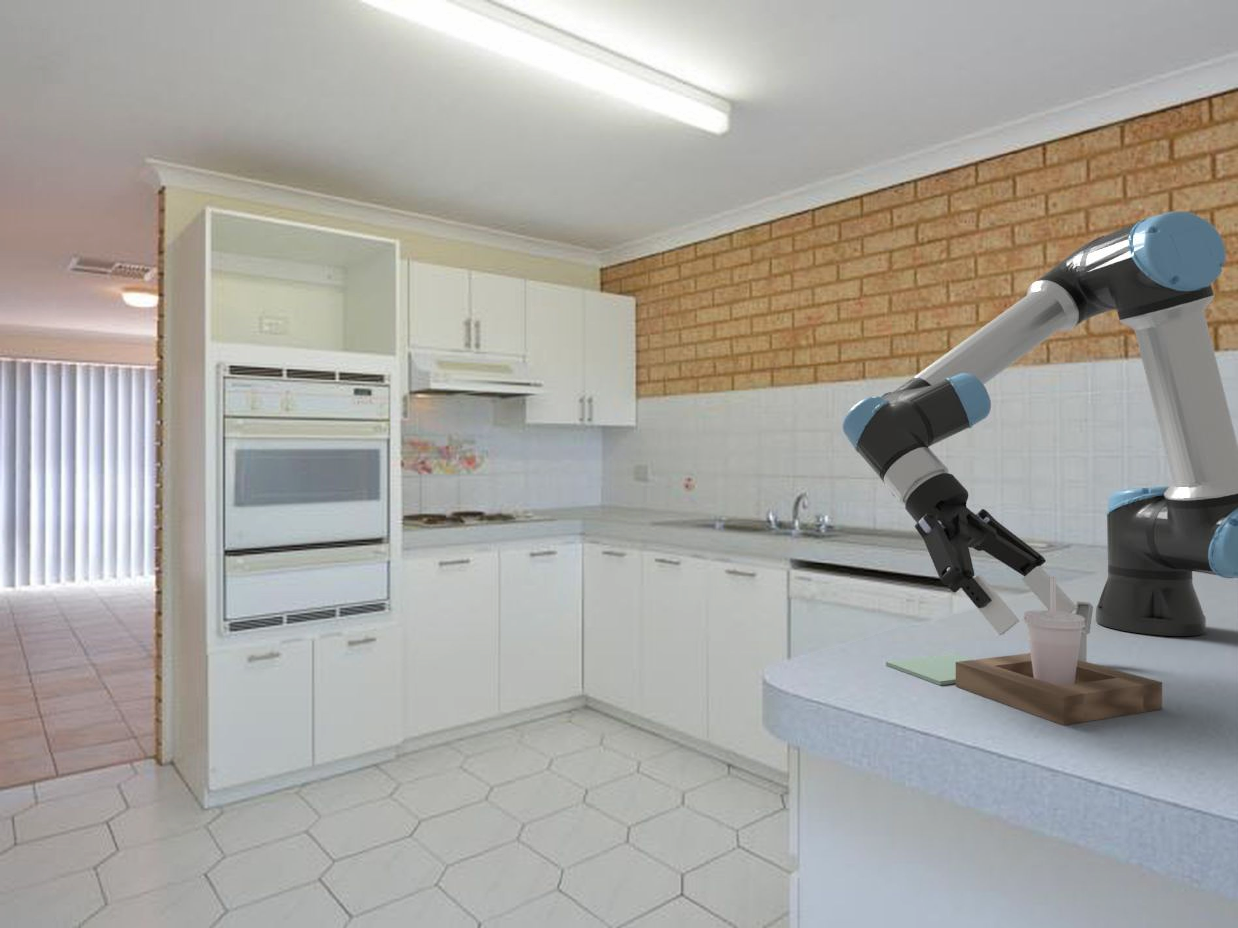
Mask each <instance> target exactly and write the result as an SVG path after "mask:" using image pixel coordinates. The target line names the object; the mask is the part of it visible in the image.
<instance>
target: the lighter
mask: <svg viewBox="0 0 1238 928" xmlns="http://www.w3.org/2000/svg"><path fill="white" fill-rule="evenodd" d="M1075 605H1076V606H1077V607H1078V608H1076V609H1075V610H1074V611H1075V613H1074V614H1077V615H1081V616H1083V617H1084V618H1085V627H1084V628H1082V632H1081V641H1080V647H1079V654H1078V660H1081V661H1084V662H1087V636H1088V635H1089V634H1090V633H1091V627H1092V626H1091V624H1092V619H1093V612H1094V611H1093V610H1094V606H1093V605H1092V603H1090V602H1089V601H1088V602H1087V601H1077V602H1076V604H1075Z"/></svg>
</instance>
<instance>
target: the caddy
mask: <svg viewBox="0 0 1238 928" xmlns="http://www.w3.org/2000/svg"><path fill="white" fill-rule="evenodd" d="M955 687H956V688H959V689H963V690H965V691H968V692H970V693H972V694H976V695H978V696H981V697H984V698H987V699H990V700H993V701H995V702H997V703H998V702H999V703H1001V704H1004V705H1006V706H1009V707H1011V708H1015V709H1018V710H1020V711H1023V712H1026V713H1028V714H1031V715H1034V716H1037V717H1039V718H1043V719H1045V720H1048V721H1050V722H1053V723H1056V724H1058V725H1062V726H1067V725H1068V726H1069V725H1074V724H1079V723H1086V722H1091V721H1097V720H1098V721H1100V720H1104V719H1109V718H1116V717H1121V716H1126V715H1128V716H1129V715H1135V714H1140V713H1144V712H1151V711H1152V712H1153V711H1157V710H1162V709H1163V682H1162V681H1159V680H1157V679H1156V680H1155V679H1152V678H1147V677H1144V676H1139V675H1136V674H1133V673H1128V672H1125V671H1121V670H1118V669H1114V668H1110V667H1107V666H1102V665H1099V664H1095V663H1091V662H1088V661H1086V662H1084V661H1081V660H1078V661H1077V668H1076V675H1075V682H1074V684H1071V685H1064V686H1057V685H1054V684H1051V683H1048V682H1045V681H1041V680H1038V679H1035V678H1034V676H1033V668H1032V661H1031V653H1030V652H1029V653H1022V654H1020V653H1019V654H1011V655H1003V656H997V657H996V656H995V657H988V658H979V659H974V660H969V661H960V662H956V683H955Z"/></svg>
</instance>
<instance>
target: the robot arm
mask: <svg viewBox="0 0 1238 928" xmlns="http://www.w3.org/2000/svg"><path fill="white" fill-rule="evenodd" d="M1226 258H1227V256H1226V246H1225V244H1224V240H1223V238H1222V235H1221V234H1220V232H1219V231H1218V230H1217V228H1216V227H1215V226H1214V225H1213V224H1212V223H1211V222H1209V221H1208V220H1207V219H1205V218H1203V217H1202V218H1201V217H1199V216H1198V215H1197V214H1196V213H1193V212H1190V211H1185V210H1184V211H1182V210H1176V211H1169V212H1165V213H1161V214H1159V215H1157V214H1156V215H1153V216H1149V217H1146V218H1144V219H1142V220H1139V221H1137V222H1135V223H1133V224H1130V225H1128V226H1125V227H1123V228H1121V229H1118V230H1116V231H1113V232H1111V233H1108V234H1106V235H1102V236H1100V237H1097V238H1095V239H1092V240H1091V241H1089V242H1087V243H1085V244H1084V245H1083V246H1081V247H1079V248H1078V249H1076V250H1075V251H1074V252H1072V253H1070V255H1068V256H1067V257H1066V258H1064V259H1063V260H1062V261H1061V262H1059V263H1058V264H1057V265H1056V266H1054V267H1053V268H1051V269H1050V270H1049V271H1048V272H1046V273H1045V274H1044V275H1042V276H1041V277H1040V278H1038V279H1037V280H1036V281H1034V282H1033V283H1032V284H1031V285H1030V286H1029V287H1028V289H1027V292H1026V295H1025V296H1024V297H1022V299H1020V300H1018V301H1017V302H1016V303H1014V304H1013V305H1011V306H1010V307H1008V308H1007V309H1006V310H1005V311H1004V312H1002V313H1000V314H999V315H998V316H996V317H995V318H993V319H992V320H991V321H989V322H988V323H986V324H985V325H984V326H983V327H981V328H980V329H978V330H977V331H975V332H974V333H973V334H971V335H970V336H969V337H967V338H965V340H963V341H961V342H960V343H959V344H958V345H956V346H954V348H952V349H951V350H949V351H948V352H946V353H945V354H944V355H942V356H941V357H939V358H938V359H936V360H935V361H933V363H931V364H930V365H929V366H927V367H926V368H924V369H922V371H920V372H918V373H917V374H916V375H915V376H913V377H912V378H911V379H909V380H908V381H906V382H905V383H903V384H902V385H900V386H899V387H897V388H896V389H895V390H893V391H892V392H891V391H889V392H886V393H883V394H881V395H878V396H873V397H872V396H867V397H866V398H863V399H862V400H860V401H858V402H857V403H856V404H854V405H853V406H852V407H851V408H850V409H849V410H848V412H847V413H846V415H845V416H844V419H843V422H842V431H843V433H844V435H845V436H846V438H847V439H848V441H849V443H850V444H851V445H852V447H853V448H854V450H855V451H856V453H858V454H860V456H861V457H862V458H863V459H864V461H865V462H866V463H867V464H868V465H869V466H870V468H872V470H873V471H874V472H875V473H876V474H877V476H878V478H880V479H881V481H882V482H883V483H884V484H885V485H886V486H887V488H888V489H889V490H890V492H891V495H892V497H893V498H896V499H897V500H898V502H900V504H902V505H904V506H905V507H904V508H905V510H906V512H908V514H909V515H910V517H912V519H913V520H914V521H915V523H916V524H915V525H914V528H915V529H916V531H917V532H918V534H919V535H920V536H921V538H922V539H923V542H924V544H925V546H926V548H927V551H928V554H929V557H930V558H931V561H932V563H933V566H934V567H935V570H936V572H937V575H938V577H939V580H940V582H941V583H942V584H943V585H944V586H948V588H949V589H950V591H951V592H953V593H957V592H958V591H959V590H960V589H961V590H962V591H963V592H964V593H965V595H966V596H967V598H969V600H970V601H971V602H972V603H973V604H974V606H975V607H976V608H977V609H978V611H979V612H980V613H981V615H983V617H984V618H985V619H986V620H987V623H989V624H990V626H991V627H992V628H993V630H995V631H996V632H997V634H998V636H1002V635H1004V634H1006V633H1007V631H1009V630H1010V629H1012V628H1013V627H1014V626H1016V625H1017V624H1018V623H1019V622H1020V620H1021V619H1019V618H1018V617H1017V615H1016V614H1015V613H1014V612H1013V611H1012V610H1011V608H1010V606H1008V605H1007V603H1006V602H1004V600H1003V599H1002V598H1001V597H1000V595H999V593H997V591H995V589H994V588H993V587H992V586H991V585H990V583H989V582H988V581H987V580H986V579H985V578H984V576H983V575H982V574H979V575H978V574H977V575H976V577H974V576H975V571H974V570H975V569H974V565H973V561H972V556H971V552H970V549H971V548H972V549H974V550H975V551H979V552H981V551H984V552H985V553H987V554H988V555H990V556H992V557H993V558H995V559H996V560H998V561H999V562H1001V563H1003V564H1004V565H1006V566H1008V567H1009V568H1011V569H1012V570H1014V571H1015V572H1017V573H1019V575H1021V576H1023V577H1022V578H1021V580H1022V581H1023V583H1024V584H1025V585H1026V586H1027V587H1028V588H1029V589H1030V591H1031V592H1032V593H1033V594H1034V595H1035V596H1036V597H1037V599H1039V601H1040V602H1041V603H1042V604H1043V605H1044V606H1045V608H1046V610H1050V577H1051V576H1050V575H1049V574H1048V573H1047V572H1046V571H1045V570H1044V568H1042V566H1043V564H1045V563H1046V559H1045V557H1044V556H1043V555H1041V554H1040V553H1039V552H1038V551H1036V550H1035V549H1034V548H1032V546H1030V545H1028V543H1026V542H1025V541H1024V540H1022V539H1020V538H1019V537H1018V536H1017V535H1016V534H1014V533H1013V532H1012V531H1010V530H1009V529H1008V528H1006V527H1005V526H1004V525H1003V524H1001V523H1000V522H999V521H998V520H997V519H995V518H994V517H993V516H992V514H990V513H989V511H987V510H986V509H983V508H981V509H980V511H978V512H977V513H976V514H975V513H974V512H973V511H972V510H970V509H969V508H968V507H967V501H968V500H969V492H968V490H967V489H966V487H965V486H963V484H962V483H961V482H960V481H959V480H958V479H957V477H955V476H954V474H952V473H949V468H948V467H947V466H946V464H944V463H943V462H942V461H941V460H940V458H938V456H936V454H935V453H934V452H933V450H931V449H930V448H929V447H931V446H934V445H935V444H937V443H939V442H942V441H944V440H946V439H948V438H951V437H952V436H954V435H956V434H958V433H960V432H962V431H964V430H966V429H971V428H972V427H973V426H974V425H976V424H977V423H981V421H983V420H984V419H986V418H987V417H988V415H990V413H991V408H992V403H991V397H990V395H989V393H988V390H987V388H986V386H985V384H987V383H988V382H989V381H991V380H993V379H994V378H995V377H997V376H998V375H999V374H1000V373H1002V372H1003V371H1005V370H1006V369H1007V368H1009V367H1010V366H1012V365H1013V364H1014V363H1016V362H1017V361H1018V360H1020V359H1021V358H1023V357H1024V356H1025V355H1027V354H1028V353H1030V352H1031V351H1032V350H1034V349H1035V348H1036V347H1038V346H1039V345H1041V344H1042V343H1044V342H1045V341H1046V340H1048V339H1049V338H1050V337H1051V336H1053V335H1054V334H1056V333H1057V332H1068V331H1070V330H1073V328H1075V327H1076V326H1078V325H1079V324H1081V323H1083V322H1084V321H1086V320H1089V319H1091V318H1092V317H1095V316H1098V315H1100V314H1103V313H1108V312H1110V311H1114V310H1115V311H1116V312H1117V316H1118V319H1119V320H1118V321H1119V322H1120V323H1121V324H1123V325H1126V326H1127V327H1129V328H1131V329H1132V330H1133V331H1134V334H1135V338H1136V341H1137V344H1138V345H1137V346H1138V349H1139V353H1140V357H1141V360H1142V365H1143V369H1144V372H1145V377H1146V382H1147V384H1148V388H1149V389H1148V390H1149V393H1150V398H1151V401H1152V404H1153V408H1154V412H1155V417H1156V420H1157V424H1158V428H1159V432H1160V435H1161V436H1160V437H1161V439H1162V440H1161V441H1162V443H1163V447H1164V451H1165V455H1166V459H1167V463H1168V467H1169V470H1170V471H1169V472H1170V475H1171V478H1172V479H1171V480H1172V483H1171V485H1170V486H1153V487H1152V486H1151V487H1136V488H1126V489H1120V490H1116V491H1114V492H1112V493H1111V494H1110V496H1109V498H1108V505H1107V512H1106V518H1107V519H1106V522H1107V523H1106V525H1107V530H1106V531H1107V535H1106V536H1107V580H1106V582H1105V584H1104V587H1103V590H1102V592H1101V595H1100V597H1099V599H1098V600H1099V601H1098V604H1097V605H1096V609H1095V623H1097V624H1098V625H1100V626H1103V627H1106V628H1111V629H1113V630H1119V631H1122V632H1123V631H1125V632H1130V633H1138V634H1144V635H1154V636H1168V637H1193V636H1194V637H1195V636H1200V635H1204V634H1206V633H1207V632H1206V631H1207V622H1206V621H1207V619H1206V616H1205V614H1204V611H1203V608H1202V606H1201V605H1202V604H1201V603H1200V600H1199V598H1198V595H1197V592H1196V590H1195V588H1194V584H1193V572H1196V573H1200V574H1207V575H1213V576H1217V577H1220V578H1225V579H1238V442H1237V437H1236V434H1235V429H1234V425H1233V421H1232V418H1231V412H1230V409H1229V406H1228V402H1227V397H1226V394H1225V390H1224V389H1225V388H1224V385H1223V382H1222V378H1221V377H1222V376H1221V373H1220V370H1219V369H1220V368H1219V366H1218V365H1219V364H1218V361H1217V357H1216V353H1215V349H1214V345H1213V341H1212V337H1211V334H1210V330H1209V326H1208V321H1207V318H1206V313H1205V312H1206V309H1207V307H1208V306H1209V305H1210V303H1211V302H1212V301H1213V299H1214V298H1215V295H1214V290H1213V287H1212V284H1213V283H1214V282H1215V281H1216V280H1217V279H1218V278H1219V277H1220V275H1221V274H1222V272H1223V269H1222V267H1223V266H1224V265H1225V264H1226ZM969 548H970V549H969ZM1076 608H1078V607H1077V606H1076V604H1075V603H1074V601H1072V600H1071V598H1070V597H1068V595H1067V594H1066V593H1065V592H1064V590H1063V589H1061V587H1060V586H1059V585H1058V584H1057V583H1056V611H1061V612H1068V613H1073V612H1074V611H1076Z"/></svg>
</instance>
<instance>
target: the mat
mask: <svg viewBox="0 0 1238 928" xmlns="http://www.w3.org/2000/svg"><path fill="white" fill-rule="evenodd" d="M969 660H975V659H973V658H970V657H967V656H964V655H961V654H957V653H949V654H941V655H933V656H923V657H915V658H907V659H906V658H904V659H895V660H888V661H885V666H887V667H888V668H892V669H895V670H898V671H901V672H902V673H906V674H908V675H911V676H914V677H916V678H919V679H922V680H924V681H926V682H930V683H932V684H936V685H938V686H946V685H953V684H956V662H960V661H969Z"/></svg>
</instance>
